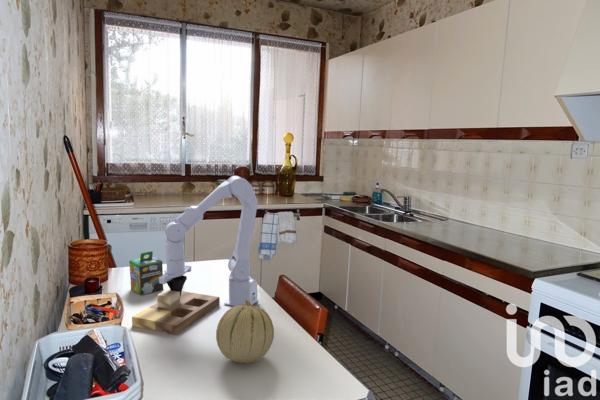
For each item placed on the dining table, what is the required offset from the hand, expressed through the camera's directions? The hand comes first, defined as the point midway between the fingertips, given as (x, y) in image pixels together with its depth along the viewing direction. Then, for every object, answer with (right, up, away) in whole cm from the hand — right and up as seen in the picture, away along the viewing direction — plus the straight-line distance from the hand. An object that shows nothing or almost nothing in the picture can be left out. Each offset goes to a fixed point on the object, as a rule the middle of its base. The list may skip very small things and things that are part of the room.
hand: (176, 298), depth 141 cm
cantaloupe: (+27, -9, -31) cm, 42 cm away
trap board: (+2, -5, -4) cm, 6 cm away
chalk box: (-16, -1, +19) cm, 25 cm away
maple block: (-1, -1, -4) cm, 4 cm away
